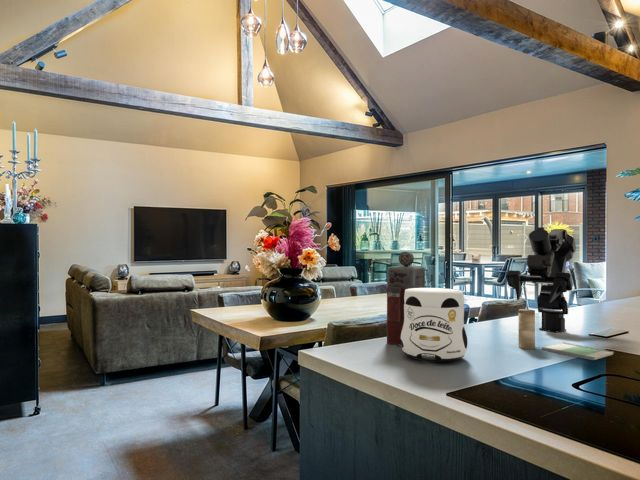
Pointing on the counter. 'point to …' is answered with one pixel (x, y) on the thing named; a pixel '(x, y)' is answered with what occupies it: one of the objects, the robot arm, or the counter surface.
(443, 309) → the white black rounded container
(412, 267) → the dark red bottle
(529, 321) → the peg
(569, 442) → the counter surface
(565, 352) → the board
